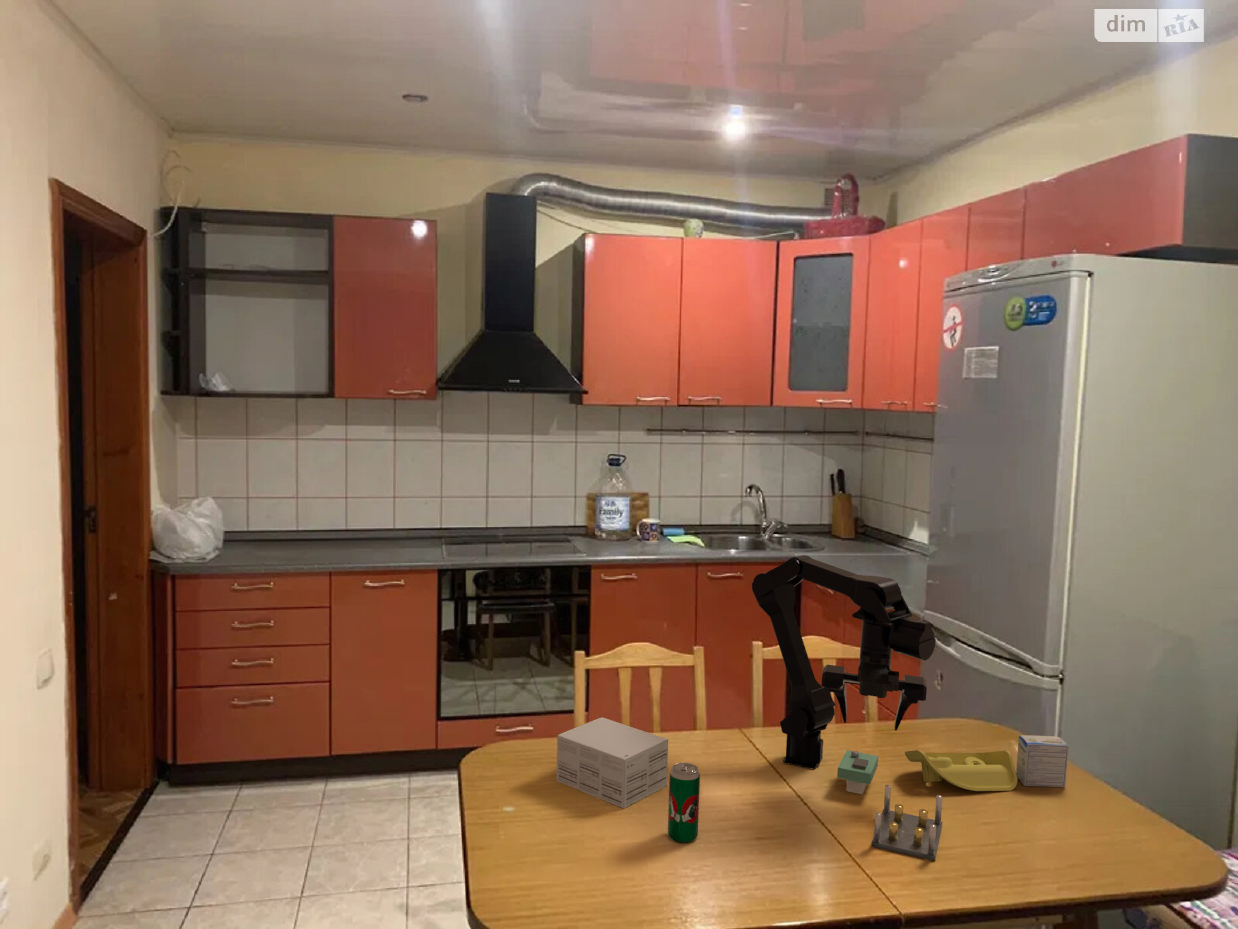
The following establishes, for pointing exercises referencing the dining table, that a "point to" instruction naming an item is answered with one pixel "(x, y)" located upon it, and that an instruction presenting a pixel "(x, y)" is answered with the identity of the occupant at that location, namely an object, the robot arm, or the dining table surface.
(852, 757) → the board
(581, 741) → the supplement box
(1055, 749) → the medicine box
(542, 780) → the dining table surface
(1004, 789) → the plastic component
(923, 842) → the chassis
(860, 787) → the white rectangular block
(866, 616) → the robot arm
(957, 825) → the dining table surface
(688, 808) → the soda can
